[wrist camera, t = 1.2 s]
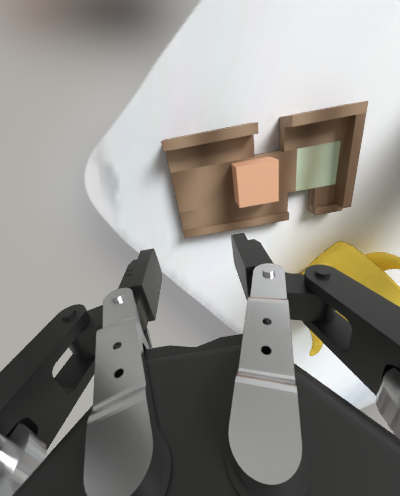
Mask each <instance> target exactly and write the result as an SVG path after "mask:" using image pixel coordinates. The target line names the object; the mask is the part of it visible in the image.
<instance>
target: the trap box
mask: <svg viewBox="0 0 400 496" xmlns="http://www.w3.org/2000/svg"><path fill="white" fill-rule="evenodd" d="M367 105H368V101H365V102H358V103H352V104H345V105H340V106H335V107H330V108H325V109H320V110H314V111H309V112H304V113H299V114H294V115H289V116H284V117H280V150H278V151H273V152H267V153H262V154H257V155H254V139H253V134H258V123H248V124H243V125H237V126H232V127H227V128H222V129H217V130H212V131H207V132H202V133H196V134H191V135H186V136H181V137H176V138H171V139H166V140H163V141H161V143H162V148H163V152H166V156H167V161H168V165H169V169H170V174H171V178H172V183H173V187H174V191H175V196H176V200H177V205H178V209H179V213H180V218H181V222H182V227H183V233H184V237H185V238H189V237H195V236H200V235H206V234H212V233H217V232H223V231H228V230H234V229H240V228H245V227H251V226H257V225H262V224H268V223H274V222H279V221H285V220H289V212H287V207H288V193H290V192H295V191H300V190H306V189H309V203H308V210H309V211H310V212H311V213H313V214H314V215H319V214H324V213H330V212H336V211H341V210H342V208H346V207H351V202H352V196H353V190H354V184H355V178H356V172H357V166H358V160H359V154H360V148H361V142H362V136H363V129H364V123H365V117H366V111H367ZM269 156H270V157H273V158H276V159H278V160H279V201H276V202H270V203H265V204H259V205H254V206H248V207H243V208H239V206H238V205H237V203H236V202H235V197H234V187H233V177H232V166H231V164H232V163H237V162H242V161H248V160H253V159H258V158H264V157H269Z"/></svg>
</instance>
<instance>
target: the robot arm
mask: <svg viewBox="0 0 400 496" xmlns="http://www.w3.org/2000/svg"><path fill="white" fill-rule="evenodd" d="M231 239H232V248H233V257H234V263H235V267H236V270H237V273H238V276H239V279H240V282H241V284H242V287H243V290H244V293H245V296H246V299H247V308H246V316H245V324H244V331H243V334H239V335H233V336H227V337H221V338H218V339H216V340H213V341H211V342H208V343H206V344H203V345H201V346H198V347H182V346H164V347H158V348H152V344H151V339H150V335H149V331H148V328H147V323H148V321H154V320H155V318H156V312H157V306H158V300H159V294H160V288H161V283H162V273H161V269H160V266H159V262H158V259H157V256H156V253H155V250H154V249H148V250H142V251H141V252H140V254H139V257H138V259H137V260H133V261H132V262H131V263H130V264H129V265H128V267H127V269H126V272H125V274H124V276H123V279H122V281H121V283H120V286H119V288H118V289H117V290H114V291H113V292H111V293H109V294H108V295H107V296H106V297H105V299H104V301H103V305H101V306H99V307H96V308H94V309H91V310H89V311H87V310H86V308H85V307H84V306H83V305H80V304H78V305H73V306H70V307H68V308H66V309H64V310H62V311H61V312H60V313H58V315H56V316H55V317H54V318H53V319H52V320H51V321H50V322H49V323H48V324H47V326H45V327H44V328H43V330H42V331H41V332H40V333H39V334H38V335H37V336H36V337H35V338H34V339H33V340H32V341H31V342H30V343H29V344H28V345H27V346H26V347H25V348H24V349H23V350H22V351H21V352H20V353H19V354H18V355H17V356H16V357H15V358H14V359H13V360H12V361H11V362H10V363H9V364H8V365H7V366H6V367H5V368H4V369H3V370H2V371H1V372H0V496H400V307H399V306H398V305H396V304H394V303H393V302H391V301H389V300H388V299H386V298H384V297H382V296H381V295H379V294H377V293H376V292H374V291H372V290H371V289H369V288H367V287H366V286H364V285H362V284H361V283H359V282H357V281H356V280H354V279H352V278H351V277H349V276H347V275H345V274H344V273H342V272H340V271H339V270H337V269H335V268H333V267H331V266H328V265H312V266H309V267H307V268H306V269H305V273H304V274H290V273H285V271H284V269H283V268H282V267H281V266H279V265H276V264H273V262H272V260H271V259H270V257H269V256H268V254H267V253H266V251H265V249H264V248H263V246H262V245H261V243H260V242H258V241H256V240H255V239H252V240H247V238H246V236H245V234H244V233H240V234H234V235H231ZM336 311H337V312H339V313H340V314H341V315H342V316H344V317H345V318H346V319H347V320H348V321H349V322H348V321H347V320H346V319H345V318H343V317H342V316H341V315H340V314H338V313H337V312H336ZM290 319H292V320H302V321H303V323H304V324H305V325H306V326H307V327H308V328H309V329H310V330H311V331H312V332H313V333H314V334H315V335H316V336H317V337H318V338H319V339H320V340H321V341H322V342H323V343H324V344H325V345H326V346H327V347H328V348H329V349H330V350H331V351H332V352H333V353H334V354H335V355H336V356H337V357H338V358H339V359H340V360H341V361H342V362H343V363H344V364H345V365H346V366H347V367H348V368H349V369H350V370H351V371H352V372H353V373H354V374H355V375H356V376H357V377H358V378H359V379H360V380H361V381H362V382H363V383H364V384H365V385H366V386H367V387H368V388H369V389H370V390H371V391H372V392H373V393H374V394H375V395H376V405H377V408H378V410H379V412H380V414H381V415H382V417H383V418H384V419H385V421H386V422H387V424H388V426H389V427H390V429H391V430H392V431H393V433H394V434H392V433H391V432H389V431H388V430H387V429H385V428H384V427H382V426H381V425H379V424H378V423H377V422H375V421H374V420H373V419H371V418H370V417H368V416H367V415H365V414H364V413H363V412H361V411H360V410H359V409H357V408H356V407H354V406H353V405H352V404H350V403H349V402H347V401H346V400H345V399H343V398H342V397H340V396H339V395H338V394H336V393H335V392H333V391H332V390H331V389H329V388H328V387H327V386H325V385H324V384H322V383H321V382H320V381H318V380H317V379H315V378H314V377H313V376H311V375H310V374H308V373H307V372H306V371H304V370H303V369H301V368H300V367H299V366H297V365H296V364H294V361H293V349H292V337H291V326H290ZM68 347H69V348H70V350H71V351H72V353H73V354H72V356H71V357H70V358H69V360H68V361H67V362H66V364H65V365H64V366H63V368H62V369H61V370H60V372H59V373H58V374H57V375H56V377H55V378H53V375H52V370H53V367H54V365H55V363H56V362H57V361H58V359H59V358H60V357H61V356H62V354H63V353H64V352H65V351H66V349H67V348H68ZM94 373H95V374H94ZM93 375H94V396H93V405H92V407H91V408H90V409H89V410H88V411H87V412H86V413H85V414H84V416H83V417H82V418H81V419H80V420H79V421H78V422H77V423H76V424H75V426H74V427H73V428H72V429H71V430H70V431H69V432H68V433H67V435H66V436H65V437H64V438H63V439H62V440H61V441H60V442H59V444H58V445H57V446H56V447H55V448H54V449H53V450H52V451H51V453H50V454H49V455H48V456H47V457H46V451H47V449H48V447H49V446H50V444H51V443H52V441H53V439H54V438H55V436H56V434H57V433H58V431H59V429H60V428H61V426H62V425H63V423H64V422H65V420H66V418H67V417H68V415H69V414H70V412H71V410H72V409H73V407H74V405H75V404H76V402H77V401H78V399H79V397H80V396H81V394H82V392H83V391H84V389H85V388H86V386H87V385H88V383H89V381H90V380H91V378H92V376H93ZM45 457H46V458H45Z"/></svg>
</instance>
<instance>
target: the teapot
mask: <svg viewBox="0 0 400 496" xmlns="http://www.w3.org/2000/svg"><path fill="white" fill-rule="evenodd" d="M312 265H328V266H331V267H333V268H335V269H337V270H339V271H340V272H342V273H344V274H345V275H347V276H349V277H351V278H352V279H354V280H356V281H357V282H359V283H361V284H362V285H364V286H366V287H367V288H369V289H371V290H372V291H374V292H376V293H377V294H379V295H381V296H382V297H384V298H386V299H388V300H389V301H391V302H393V303H394V304H396V305H398V306H399V307H400V287H399V286H398V285H397V284H396V283H395V282H394V281H393V280H392V279H391V278H390V277H389V276H388V275H387V274H386V273H385V272H384V271H385V270H388V269H400V257H397V256H395V255H392V254H389V253H384V252H375V253H369V254H366V255H364V254H363V253H361V252H360V251H358V250H357V249H356V248H354V247H353V246H351V245H350V244H347V243H345V242H341V241H339V242H337V243H335V244H334V245H332V246H331V247H330V248H328V249H327V250H326V251H325V252H323V253H322V254H321V255H320V256H319V257H317V258H316V259H315V260H314V261H313V262H312V263H311V264H310V265H309V266H312ZM309 266H308V267H309ZM304 273H305V270H304V271H303V272H302V273H301V274H304ZM336 312H337V311H336ZM337 313H338V314H340V313H339V312H337ZM340 315H341V314H340ZM341 316H342V315H341ZM342 317H343V318H345V317H344V316H342ZM345 319H346V318H345ZM346 320H347V319H346ZM347 321H348V320H347ZM348 322H349V321H348ZM309 330H310V329H309ZM310 332H311V336H312V341H313V343H312V348H311V351H310V356H313V355H315V354H317V353H318V352H319V351H320V349H321V348H322V345H323V342H322V341H321V340H320V339H319V338H318V337H317V336H316V335H315V334H314V333H313V332H312V331H311V330H310Z"/></svg>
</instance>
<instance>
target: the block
mask: <svg viewBox="0 0 400 496" xmlns="http://www.w3.org/2000/svg"><path fill="white" fill-rule="evenodd" d="M231 166H232V177H233V187H234V197H235V202H236V203H237V205H238V206H239V208H243V207H248V206H254V205H259V204H265V203H270V202H276V201H279V160H278V159H276V158H273V157H270V156H269V157H264V158H258V159H253V160H248V161H242V162H237V163H232V164H231Z"/></svg>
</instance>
